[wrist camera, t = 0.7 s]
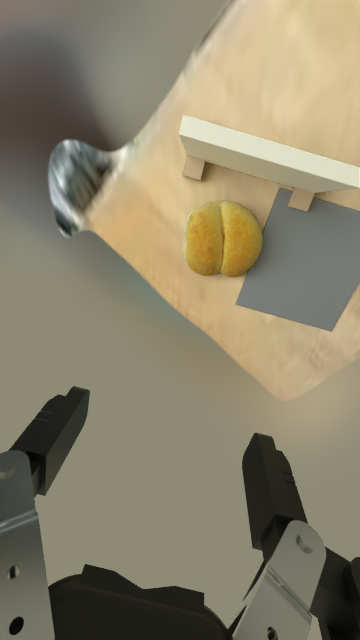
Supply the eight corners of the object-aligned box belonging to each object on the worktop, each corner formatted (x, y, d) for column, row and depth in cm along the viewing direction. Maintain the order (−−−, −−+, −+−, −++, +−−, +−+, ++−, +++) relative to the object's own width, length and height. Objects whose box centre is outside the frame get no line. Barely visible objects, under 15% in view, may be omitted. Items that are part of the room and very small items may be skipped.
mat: (279, 188, 29) (279, 187, 29) (392, 221, 30) (393, 221, 29) (235, 304, 35) (235, 304, 35) (330, 331, 35) (331, 331, 35)
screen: (195, 122, 28) (190, 81, 18) (325, 161, 28) (383, 140, 19) (182, 175, 30) (172, 163, 20) (304, 211, 30) (347, 214, 21)
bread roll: (255, 275, 33) (261, 284, 29) (182, 271, 34) (179, 279, 30) (266, 201, 30) (273, 201, 26) (185, 199, 30) (182, 199, 27)
